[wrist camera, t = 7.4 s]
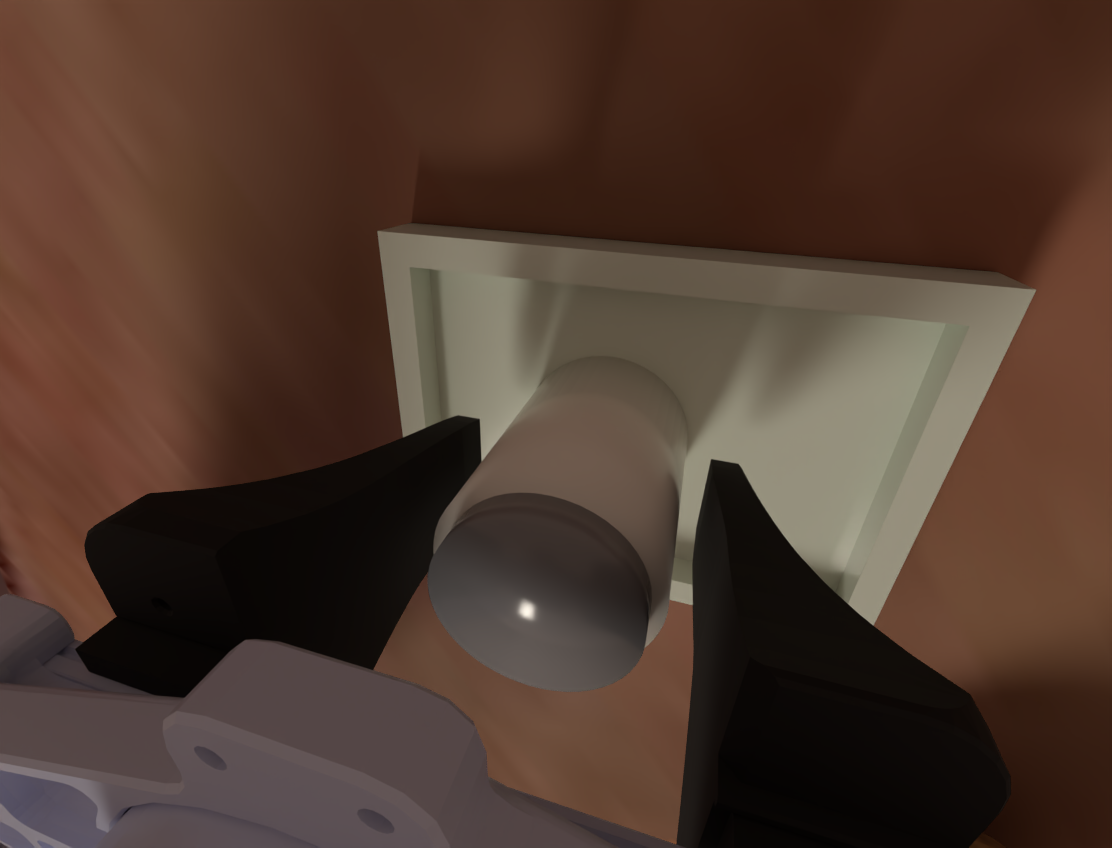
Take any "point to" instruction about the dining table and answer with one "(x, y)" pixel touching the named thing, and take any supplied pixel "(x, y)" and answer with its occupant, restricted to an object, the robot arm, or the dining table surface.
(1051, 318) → the dining table surface
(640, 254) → the tray
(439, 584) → the shaker
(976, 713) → the robot arm
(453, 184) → the dining table surface
